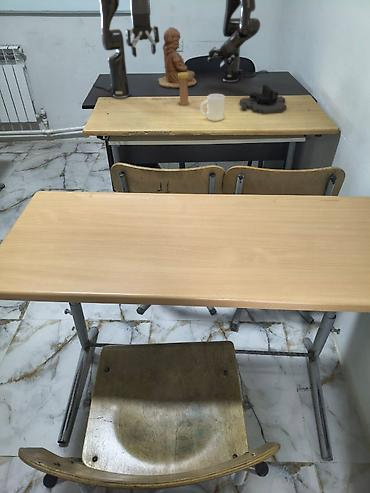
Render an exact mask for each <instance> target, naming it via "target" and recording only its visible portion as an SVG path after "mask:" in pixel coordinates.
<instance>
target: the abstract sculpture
mask: <svg viewBox="0 0 370 493" xmlns="http://www.w3.org/2000/svg"><path fill="white" fill-rule="evenodd" d="M285 103H286V98H285V97H284V96H282V95H280V96H279V92H278V91H274V90H273V89H272V88H271V87H270V86H268V85H267V84H263V85H262V92H261V93H259V92H251V93H249V96H248V97H244V98H243V97H242V98H241V99H239V104H240V105H241V106H240V108H241V110H242V111H243V112H244V111H247V109H248V110H252V111H253V112H254V113H259V114H263V115H264V114H265V115H266V114H276V113H283V111H285V110H287V105H286V104H285Z"/></svg>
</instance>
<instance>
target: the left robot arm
mask: <svg viewBox="0 0 370 493" xmlns="http://www.w3.org/2000/svg"><path fill="white" fill-rule="evenodd" d="M99 5H100V18H101V19H100V20H101V25H100V26H101V43H102V47H103V49H104V50H105V51H115V52H114V54H112V55H110V56H109V57H108V58H107V64H108V70H109V75H110V88H109V89H108V88H106V87H104V86H99V85H97V84H96V83H95V82H94V83H93V84H92V86H94V87H96V88H99V89H104V90H105V91H107V92H110V91H112V97H113V98H114V99H125V98H128V97H130V90H129V89H130V88H129V82H128V81H129V79H128V74H127V66H126V65H127V64H126V55H125V54H126V53H125V42H126V46H128V47H131V55H132V56H133V57H134V58H137V56H138V54H137V47H136V46H137V43H139V41H143V40H146V41H147V40H148V41H149V42H150V48H151V49H150V50H151V54H152V55H156V52H157V48H156V46H157V44H158V43H160V34H159V27H158V26H156V25H153V26H151V14H150V12H151V11H150V10H151V9H150V2H149V0H130V16H131V25H132V28H131V29H129V28H126V29H125V40H124V35H123V32H122V30H121V29H119V28H116V29H115V28H114V29H111V23H112V20H113V18H114V17H115V14H116V13H117V11H118V8H119V6H120V0H99ZM151 33H153V36H154V38H153V37H152V35H151ZM132 34H133V38H131V36H132ZM131 39H132V40H131ZM124 41H125V42H124Z"/></svg>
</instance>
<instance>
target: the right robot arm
mask: <svg viewBox="0 0 370 493" xmlns="http://www.w3.org/2000/svg"><path fill="white" fill-rule="evenodd" d="M239 7H240V16H239V17H233V15H234V14H235V12H236V11H237V10H238V9H239ZM255 11H256V0H225V10H224V16H223V21H222V22H223V23H222V35H223V36H224V37H225V38H227V39H226V40H225V41H224V43H223V44H222V45H221V46H220V48H218V49H217V48H216V46H213V48H211V49H210V50H209V52H208V57H207V63H208V64H210V63H211V62H212V60H217V59H220V60H222V61H221V63H220V65H219V66H220V68H223V73H222V74H223V76H222V81H223V82H225V83H236V82H239V76H242V75H243V77H244V78H246V79H247V78H249V79H250V78H253V77H256V75H257V74H260V73H267V74H269V71H268V70H265V69H263V70H258V71H255V72H254V74H251V75H250V76H249V75H246V74H245V72H244V69H240V55H241V47H242V46H243V45H244V43H245V42H247V41H248V40H250V39H252V38H253V37H254V36H256V34H258V33H259V31H260V30H261V21H260V20H259V19H258V18H256V17H251V16H252V13H253V12H255Z"/></svg>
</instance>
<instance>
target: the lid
mask: <svg viewBox="0 0 370 493" xmlns="http://www.w3.org/2000/svg"><path fill="white" fill-rule="evenodd" d="M188 77H189V74H188V73H187V72H181V73H178V78H182V79H184V78H188Z"/></svg>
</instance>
